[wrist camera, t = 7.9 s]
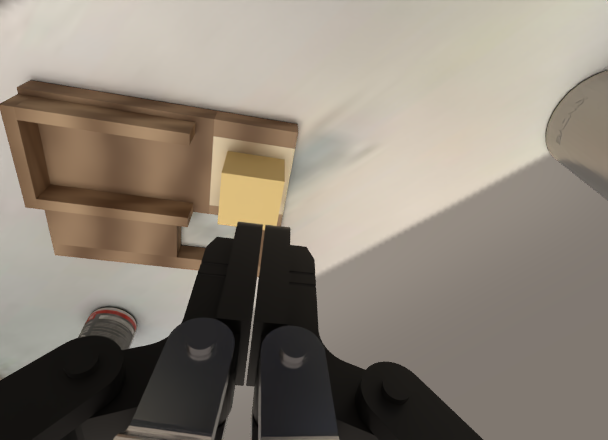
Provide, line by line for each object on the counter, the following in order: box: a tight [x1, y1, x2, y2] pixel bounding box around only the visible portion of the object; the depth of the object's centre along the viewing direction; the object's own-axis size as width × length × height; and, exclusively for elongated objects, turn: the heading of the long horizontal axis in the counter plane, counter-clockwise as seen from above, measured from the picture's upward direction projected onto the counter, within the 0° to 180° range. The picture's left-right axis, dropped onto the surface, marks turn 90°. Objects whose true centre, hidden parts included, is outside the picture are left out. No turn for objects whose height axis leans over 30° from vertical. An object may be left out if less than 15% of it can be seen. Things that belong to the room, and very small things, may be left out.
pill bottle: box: [78, 308, 137, 350], centre depth 44 cm, size 6×6×10 cm
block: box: [218, 151, 285, 230], centre depth 34 cm, size 5×5×4 cm
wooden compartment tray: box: [17, 80, 298, 277], centre depth 37 cm, size 22×17×2 cm
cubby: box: [0, 94, 196, 227], centre depth 33 cm, size 14×9×2 cm, turn 79°
